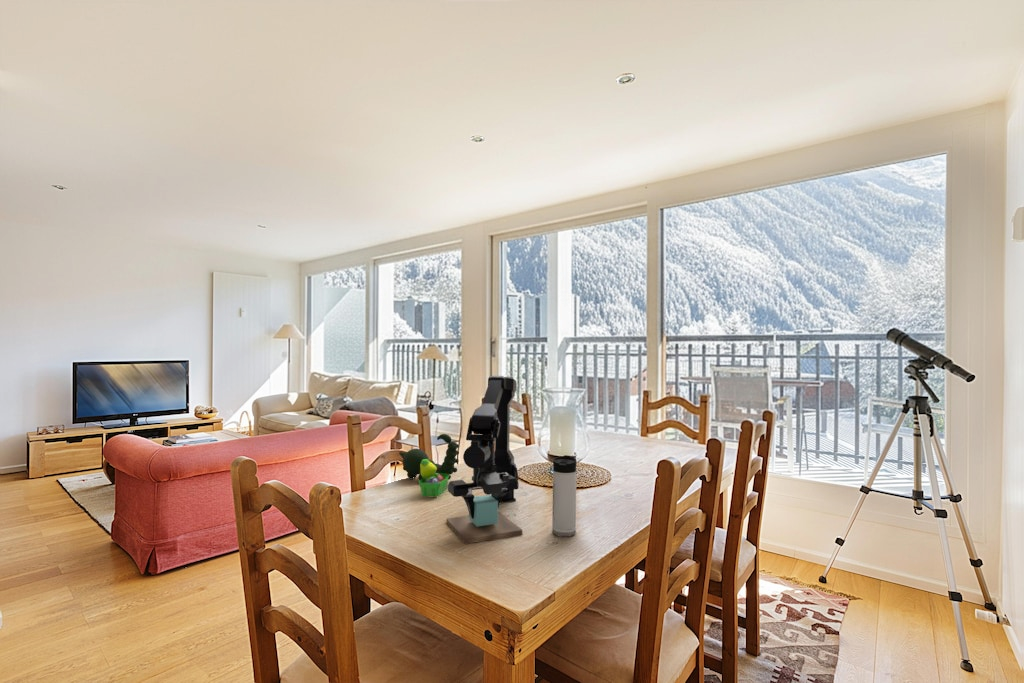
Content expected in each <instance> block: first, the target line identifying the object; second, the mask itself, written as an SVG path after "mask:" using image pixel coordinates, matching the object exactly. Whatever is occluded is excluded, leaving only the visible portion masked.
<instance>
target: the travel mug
mask: <svg viewBox="0 0 1024 683" xmlns="http://www.w3.org/2000/svg"><path fill="white" fill-rule="evenodd" d="M552 466H553V467H552V520H551V522H552V523H551V525H552V526H551V528H552V530H551V531H552V533H553V535H555V534H556V535H555V536H557V535H559V536H558V537H562V536H569V537H572V535H573V536H575V534H576V533H577V459H576V458H575V457H572V456H571V455H568V454H567V455H566V454H565V455H563V456H556V457H554V458H553V460H552Z"/></svg>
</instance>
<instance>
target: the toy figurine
mask: <svg viewBox="0 0 1024 683" xmlns="http://www.w3.org/2000/svg"><path fill="white" fill-rule="evenodd" d="M436 440H437V441H439V440H443V441H444V442H445V443H446V444H447V449H446V451H445V456H444V458H443V462H442V463H441V464H439V463H436V462H435V461H434V460H432V459H430V458H429V456H428V454H427V453H426V452H425V450H422V449H421V448H412V449H410V450H408V451H407V452H406V451H405V452H404V451H399V452H398V453H399V455H400V457H401V458H402V466H403V468H402V470H403V471H405V472H406V476H407V478H409V479H410V478H412V479H413V477H415V478H417V477H418V481H420V480H421V479H422V478H423V477H422V475H421V472H420V470H421V468H420V464H421V461H422V460H423V459H427V460H429V461H430V462H431V463H433V464H434V465H435V466H436V468H437V470H436V473H440V474H449V478H448V481H449V480H451V478H452V476H451V475H453V474H454V473H457V472H458V468H457V467H455V464H457V463H459V459H458V458H456V456H458V455H459V454H460V451H458V450H457V449H458V448H460V445H459V444H458V443H457V442H455V441H454V440H453V441H452V437H451V436H450V435H449V434H446V433H441V434H439V435H438V436H437V438H436ZM412 479H411V480H412ZM413 480H414V479H413Z"/></svg>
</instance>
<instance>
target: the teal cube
mask: <svg viewBox="0 0 1024 683" xmlns="http://www.w3.org/2000/svg"><path fill="white" fill-rule="evenodd" d="M473 504H474V519H472V518H471V516H470V513H469V512H468V515H469V519H470V520H471V521H472V522H473V523H474V524H475V525H476V526H477V527H478V526H485V525H491V524H498V511H499V507H498V501H497V500H496V499H494V498H493V497H492V496H491V494H490V495H487V494H485V495H479V496H478V495H477V496H475V497H474V500H473Z"/></svg>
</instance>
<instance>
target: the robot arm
mask: <svg viewBox="0 0 1024 683" xmlns="http://www.w3.org/2000/svg"><path fill="white" fill-rule="evenodd" d="M517 383H518V382H517V380H516V379H514V377H513V376H504V375H491V376H489V377H488V378H487V388H486V391H485V393H484V397H483V400H482V403H481V405H480V406H478V407H477V408H475V409H474V411H473V413H472V416H470V418H469V421H468V422H469V423H468V425H467V426H468V427H467V431H466V437H465V440H466V441H470V446H468V447H467V448H466V449H465V450H464V452H463V455H462V458H463V462H464V463H465V465H466V466H467V467H468V468H471V469H473V470H472V472H473V474H472V475H473V476H471V481H472V482H466V481H464V480H463V479H458V480H450V481H449V483H447V492H448V494H451V495H452V496H453V497H456V498H457V497H458V498H459V497H461V498H462V499H463V500H464V502H465V505H466V507H467V510H468V514H469V513H470V516H471V518H472V519H474V504H473V500H474V497H476V496H475V495H474V494H473V491H474V490H475V491H476V490H483V493H484V494H485V495H490V496H492V497H493V498H494V499H496V500H497V501H498V508H499V507H500V504H503V503H510V502H515V501H517V498H516V497H515V490H519V473H518V468H517V465H516V462H515V456H514V455H513V453H512V451H511V450H510V424H511V422H510V420H511V419H510V418H511V416H510V412H511V410H510V409H511V408H510V406H511V403H512V401H513V399H514V398H515V395H516V392H517V389H518V388H517V386H518V385H517Z"/></svg>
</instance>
